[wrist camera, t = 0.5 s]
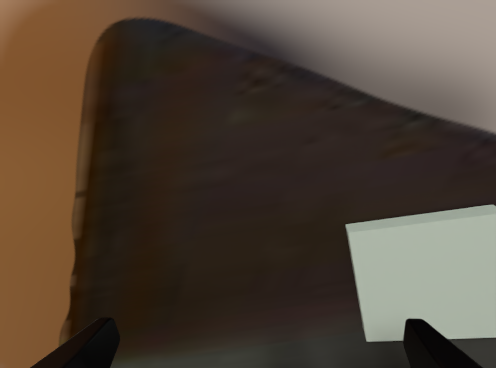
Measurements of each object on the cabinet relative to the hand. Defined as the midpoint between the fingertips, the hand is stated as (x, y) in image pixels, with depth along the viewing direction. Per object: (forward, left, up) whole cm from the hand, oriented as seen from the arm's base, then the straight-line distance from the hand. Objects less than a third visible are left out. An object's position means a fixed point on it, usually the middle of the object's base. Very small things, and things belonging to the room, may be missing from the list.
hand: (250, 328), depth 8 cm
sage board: (-9, -9, -15) cm, 19 cm away
